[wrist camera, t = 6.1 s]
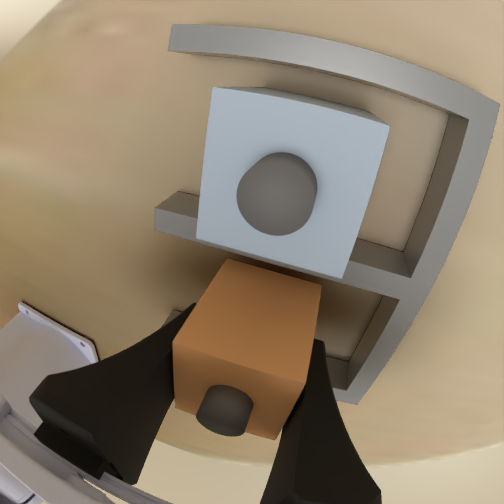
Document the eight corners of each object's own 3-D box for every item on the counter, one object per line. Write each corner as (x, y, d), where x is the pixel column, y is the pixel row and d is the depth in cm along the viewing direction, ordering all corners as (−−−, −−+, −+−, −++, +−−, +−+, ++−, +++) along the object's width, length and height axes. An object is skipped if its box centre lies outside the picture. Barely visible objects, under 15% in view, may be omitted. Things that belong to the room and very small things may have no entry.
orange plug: (217, 326, 15) (164, 427, 10) (227, 258, 13) (157, 365, 8) (297, 350, 15) (269, 462, 10) (322, 284, 13) (299, 412, 7)
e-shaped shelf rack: (173, 322, 18) (158, 345, 16) (196, 31, 10) (171, 24, 8) (358, 376, 16) (357, 404, 15) (477, 100, 8) (500, 103, 7)
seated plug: (246, 184, 13) (179, 256, 8) (263, 87, 11) (194, 87, 6) (343, 209, 12) (340, 302, 7) (369, 111, 10) (398, 131, 5)
